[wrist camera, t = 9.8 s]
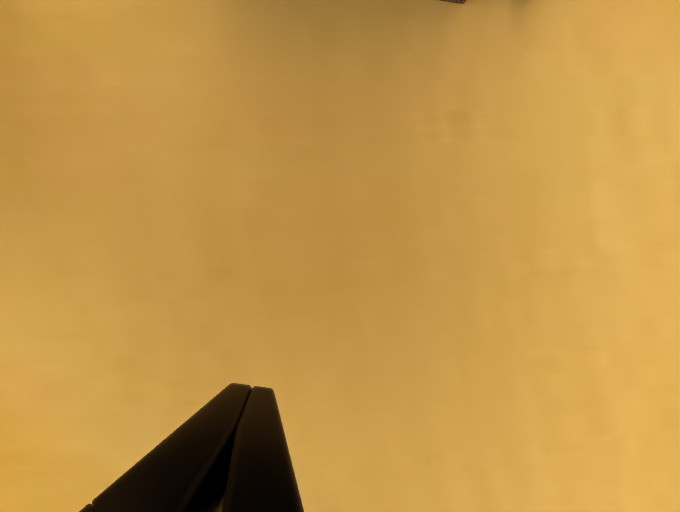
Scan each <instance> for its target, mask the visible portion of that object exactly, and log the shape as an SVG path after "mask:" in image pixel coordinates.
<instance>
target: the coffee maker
mask: <svg viewBox="0 0 680 512" xmlns="http://www.w3.org/2000/svg"><path fill="white" fill-rule="evenodd" d="M442 1H448V2H455V3H462V4H464V3H465V2H466V0H442Z"/></svg>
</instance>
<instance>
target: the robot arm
mask: <svg viewBox="0 0 680 512" xmlns="http://www.w3.org/2000/svg"><path fill="white" fill-rule="evenodd" d="M79 512H304V510H303V506H302V502H301V498H300V494H299V490H298V486H297V482H296V478H295V474H294V470H293V466H292V462H291V458H290V454H289V450H288V446H287V442H286V438H285V434H284V430H283V426H282V422H281V418H280V414H279V410H278V406H277V402H276V398H275V394H274V391H273V389H271V388H266V387H259V386H254V387H253V388H251V386H250V385H245V384H238V383H232V384H229V385H228V386H227V387H226V388H225V389H223V390H222V391H221V392H220V393H219V394H218V395H216V396H215V397H214V398H213V399H212V400H210V401H209V402H208V403H207V404H206V405H205V406H203V407H202V408H201V409H200V410H199V411H198V412H196V413H195V414H194V415H193V416H192V417H190V418H189V419H188V420H187V421H186V422H185V423H183V424H182V425H181V426H180V427H179V428H177V429H176V430H175V431H174V432H173V433H172V434H170V435H169V436H168V437H167V438H166V439H165V440H163V441H162V442H161V443H160V444H159V445H157V446H156V447H155V448H154V449H153V450H152V451H150V452H149V453H148V454H147V455H146V456H145V457H143V458H142V459H141V460H140V461H139V462H137V463H136V464H135V465H134V466H133V467H132V468H130V469H129V470H128V471H127V472H126V473H124V474H123V475H122V476H121V477H120V478H119V479H117V480H116V481H115V482H114V483H113V484H112V485H110V486H109V487H108V488H107V489H106V490H104V491H103V492H102V493H101V494H100V495H99V496H97V497H96V498H95V499H94V500H93V501H92V504H88V505H86V506H85V507H84V508H83V509H82V510H81V511H79Z"/></svg>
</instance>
